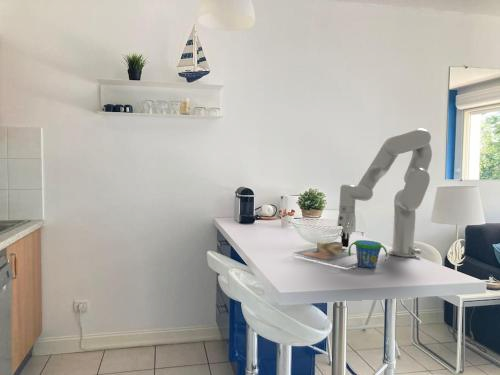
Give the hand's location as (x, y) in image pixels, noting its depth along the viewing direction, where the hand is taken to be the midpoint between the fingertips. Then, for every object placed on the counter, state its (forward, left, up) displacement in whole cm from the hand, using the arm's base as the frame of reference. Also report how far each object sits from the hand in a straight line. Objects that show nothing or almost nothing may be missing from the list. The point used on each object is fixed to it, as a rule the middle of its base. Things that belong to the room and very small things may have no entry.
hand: (344, 246), depth 199 cm
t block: (0, +11, -1) cm, 11 cm away
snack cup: (-23, +20, -2) cm, 31 cm away
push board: (0, +17, -2) cm, 17 cm away
